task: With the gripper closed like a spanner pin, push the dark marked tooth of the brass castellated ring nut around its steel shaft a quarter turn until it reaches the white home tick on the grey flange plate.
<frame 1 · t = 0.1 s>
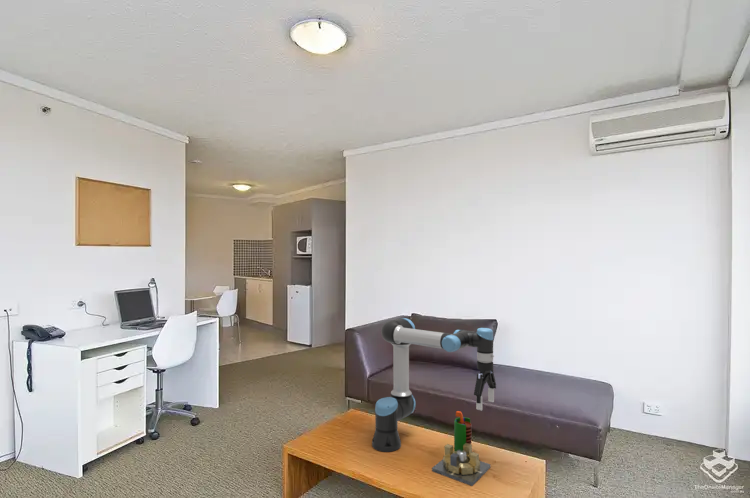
hand: (485, 405, 197), 28 cm above the table, fingers open, 13 cm apart
flange plate: (461, 469, 192), on the table
ring nut: (461, 457, 192), point 5 cm above the table, hinge at 0.0°
motor: (463, 452, 208), on the table
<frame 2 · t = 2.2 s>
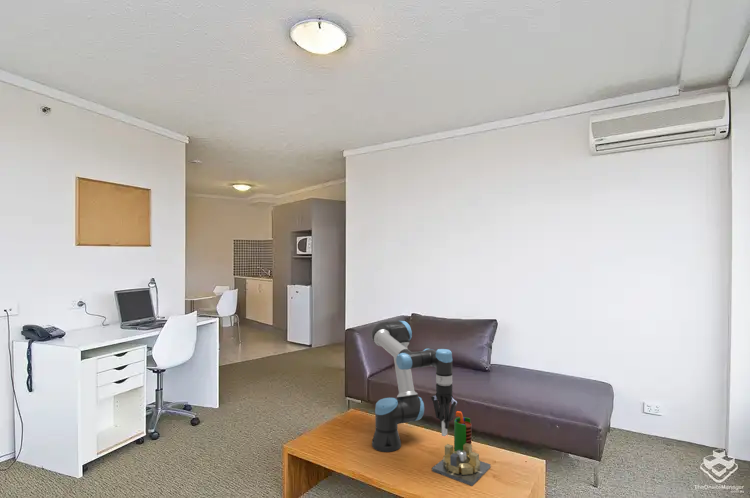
hand: (444, 434, 190), 17 cm above the table, fingers closed
nothing on the table moved.
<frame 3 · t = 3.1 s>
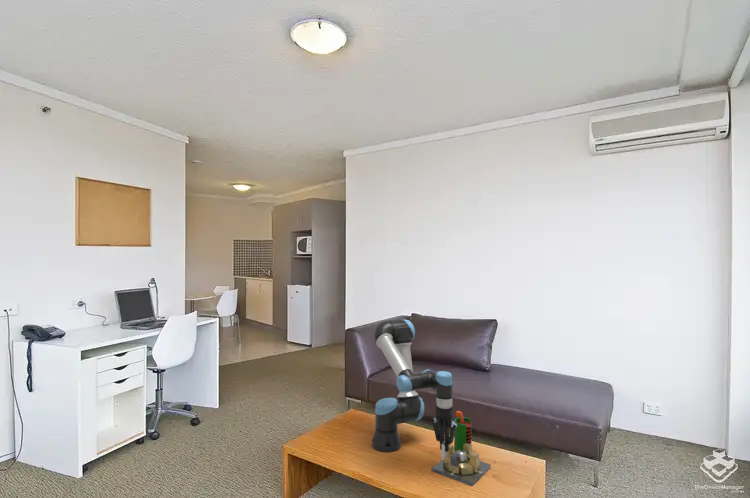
hand: (444, 457, 190), 6 cm above the table, fingers closed
nothing on the table moved.
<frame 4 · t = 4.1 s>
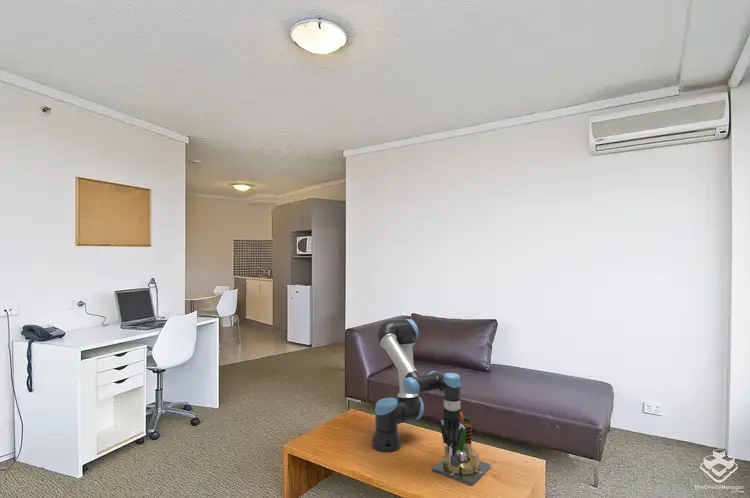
hand: (451, 460, 188), 6 cm above the table, fingers closed
ring nut: (461, 457, 192), point 5 cm above the table, hinge at 1.0°, touching gripper
everything else where it was.
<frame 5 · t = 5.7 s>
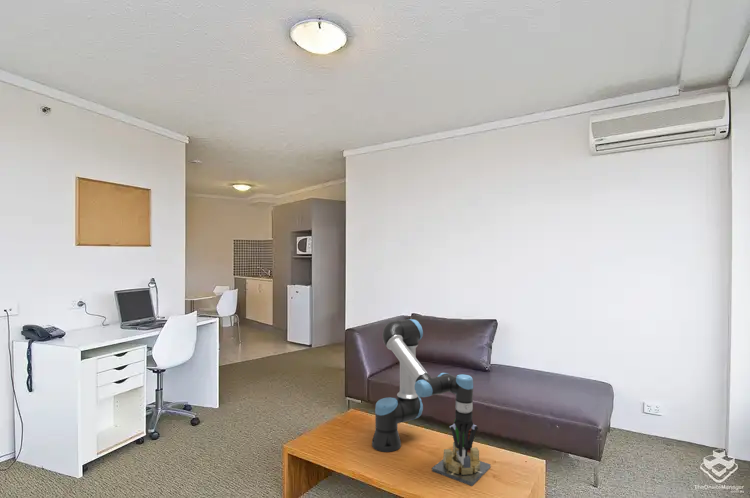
hand: (462, 463, 185), 6 cm above the table, fingers closed
ring nut: (461, 457, 192), point 5 cm above the table, hinge at 44.7°, touching gripper
everything else where it was.
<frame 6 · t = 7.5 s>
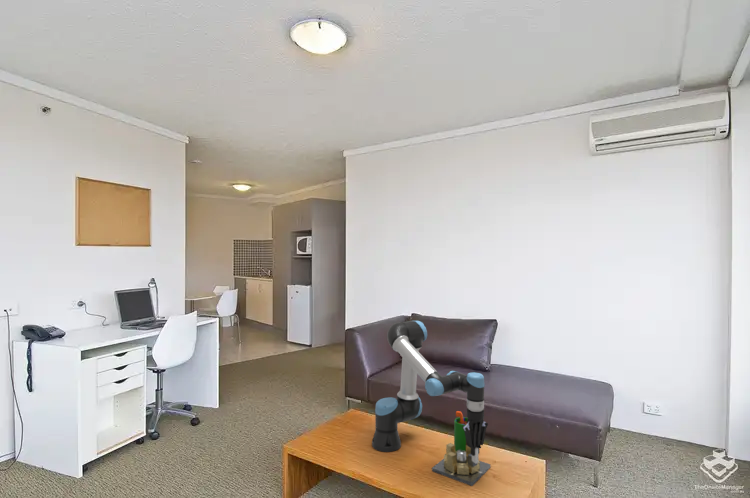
hand: (475, 461, 183), 8 cm above the table, fingers closed
ring nut: (461, 457, 192), point 5 cm above the table, hinge at 76.0°, touching gripper
everything else where it was.
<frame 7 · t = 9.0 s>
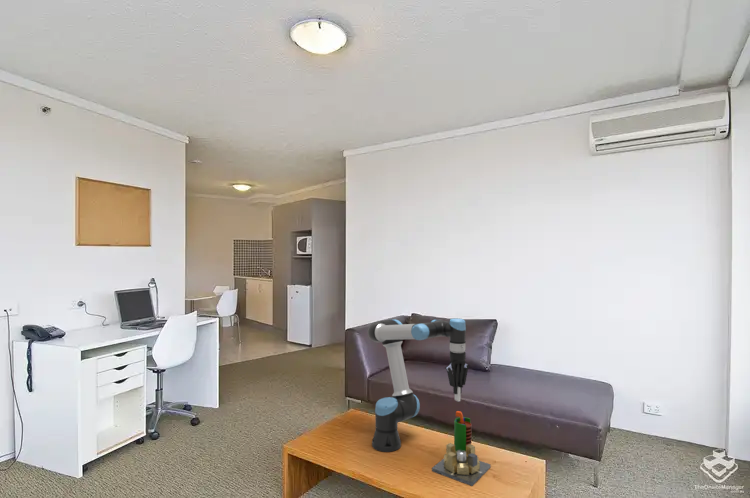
hand: (457, 400, 197), 30 cm above the table, fingers closed
ring nut: (461, 457, 192), point 5 cm above the table, hinge at 76.0°
everything else where it was.
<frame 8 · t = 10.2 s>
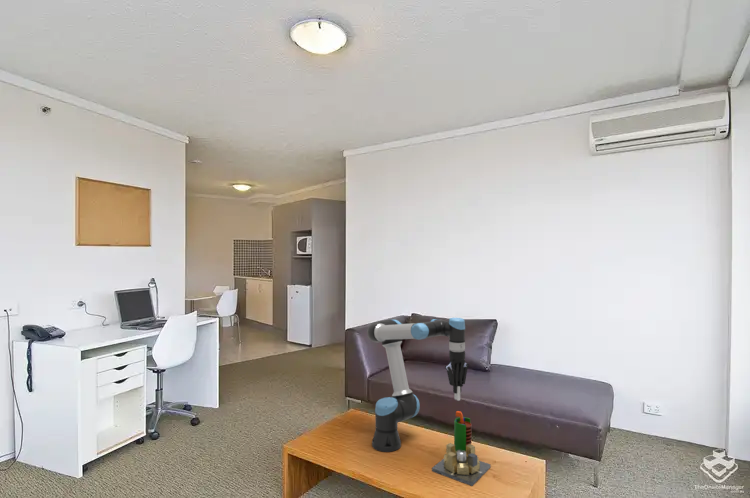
hand: (457, 399, 198), 30 cm above the table, fingers closed
nothing on the table moved.
at the end: ring nut at +76° (first picture: +0°) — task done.
